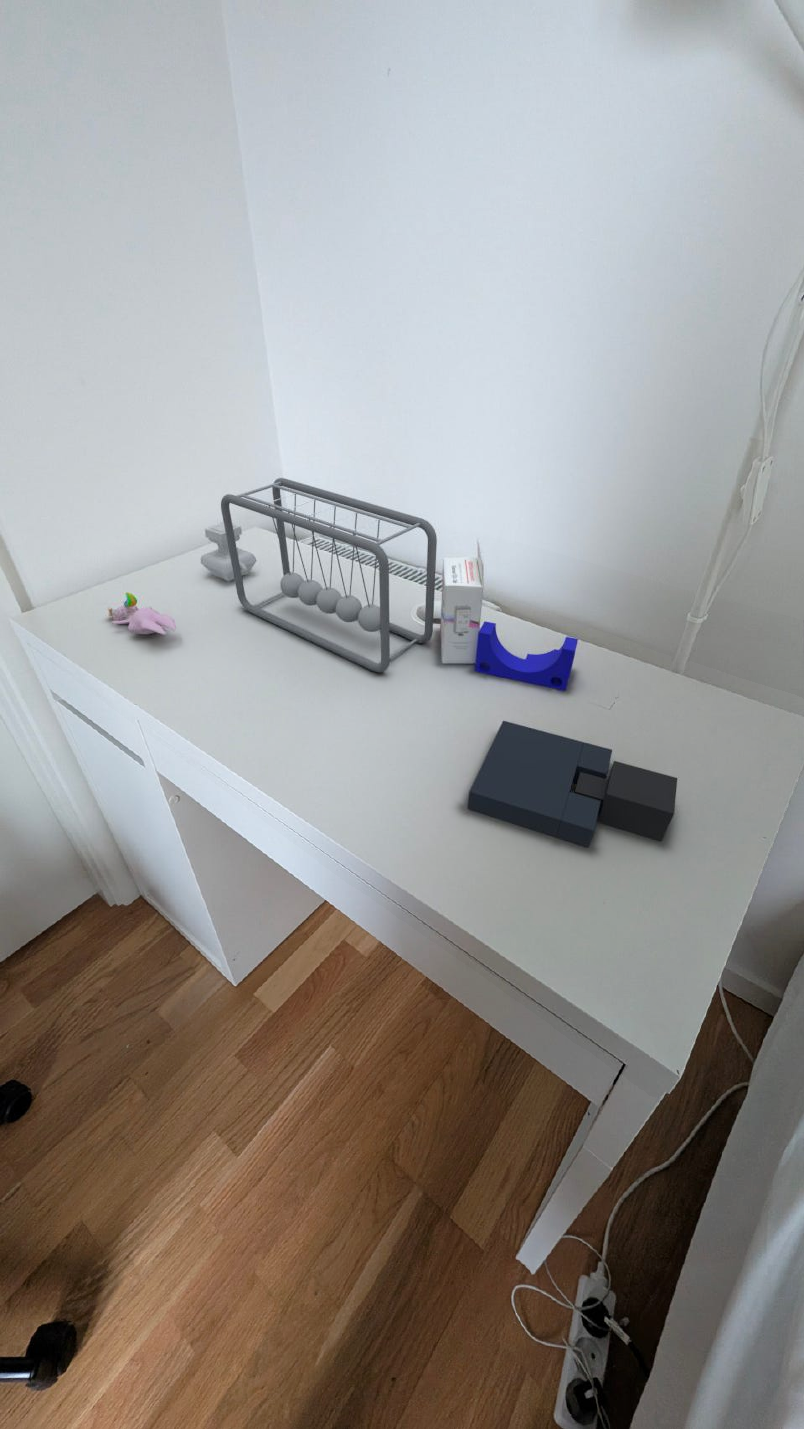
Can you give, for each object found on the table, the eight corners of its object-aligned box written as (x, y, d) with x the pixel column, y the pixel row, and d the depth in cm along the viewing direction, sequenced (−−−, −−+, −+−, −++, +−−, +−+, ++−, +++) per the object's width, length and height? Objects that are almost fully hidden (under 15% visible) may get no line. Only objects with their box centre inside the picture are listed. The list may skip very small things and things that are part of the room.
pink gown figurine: (103, 631, 87) (154, 652, 78) (87, 594, 84) (137, 611, 75) (141, 615, 91) (193, 634, 82) (127, 579, 87) (180, 594, 78)
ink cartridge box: (438, 631, 85) (443, 534, 76) (471, 632, 85) (481, 534, 76) (440, 664, 78) (446, 562, 69) (477, 665, 78) (487, 562, 69)
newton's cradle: (433, 645, 82) (439, 522, 71) (386, 679, 75) (384, 548, 64) (288, 584, 96) (274, 474, 85) (238, 608, 90) (216, 492, 79)
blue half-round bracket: (570, 672, 77) (579, 633, 73) (565, 690, 74) (574, 651, 70) (483, 654, 80) (487, 615, 76) (474, 671, 77) (478, 632, 73)
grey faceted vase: (199, 574, 99) (187, 526, 94) (230, 562, 103) (221, 515, 98) (232, 589, 95) (223, 540, 90) (263, 576, 99) (256, 527, 94)
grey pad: (607, 766, 63) (612, 749, 61) (588, 847, 54) (594, 830, 53) (500, 737, 67) (503, 720, 65) (467, 808, 58) (469, 791, 56)
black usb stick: (665, 805, 59) (677, 777, 56) (661, 841, 55) (674, 813, 52) (577, 780, 61) (585, 752, 59) (568, 813, 58) (576, 785, 55)
